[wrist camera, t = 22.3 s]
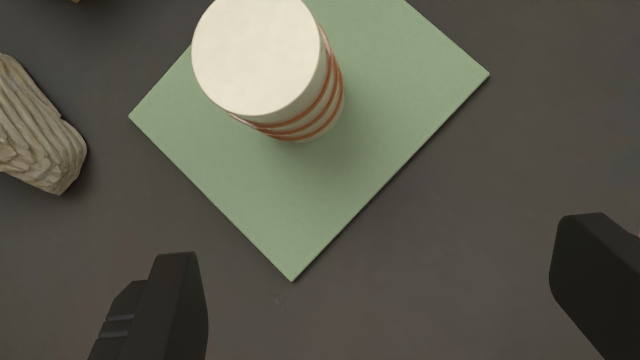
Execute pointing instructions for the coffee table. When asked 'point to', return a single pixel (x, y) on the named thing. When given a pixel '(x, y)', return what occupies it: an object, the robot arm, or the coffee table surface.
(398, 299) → the coffee table surface
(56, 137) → the fossil tooth
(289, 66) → the banded jar
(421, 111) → the mat
